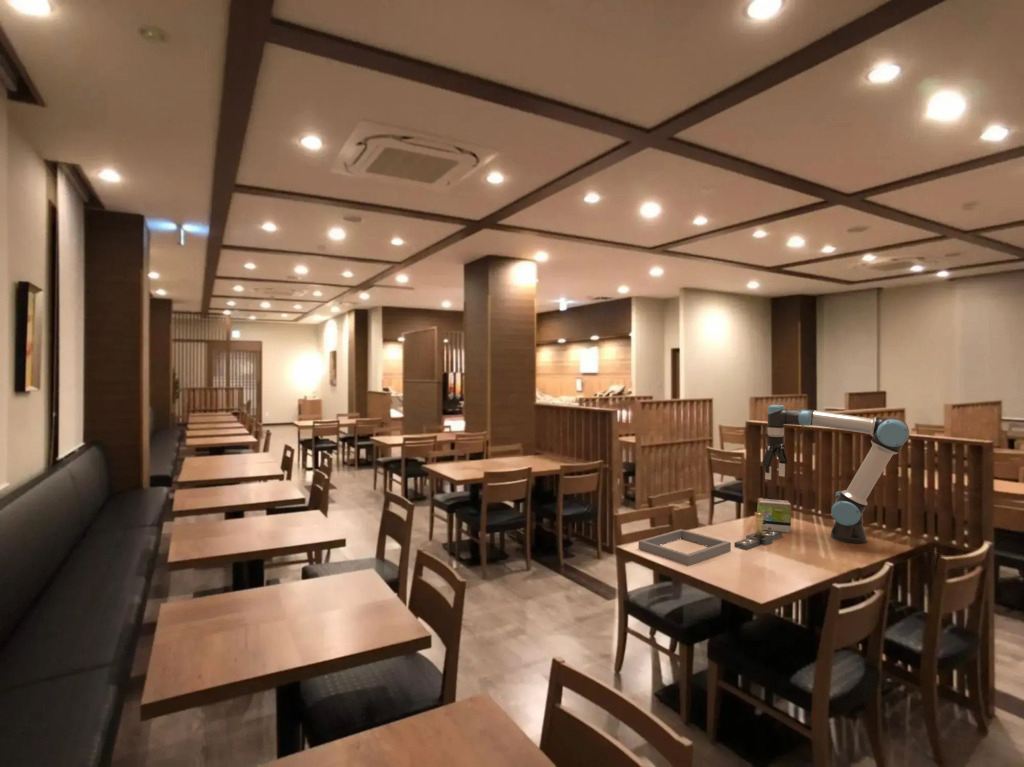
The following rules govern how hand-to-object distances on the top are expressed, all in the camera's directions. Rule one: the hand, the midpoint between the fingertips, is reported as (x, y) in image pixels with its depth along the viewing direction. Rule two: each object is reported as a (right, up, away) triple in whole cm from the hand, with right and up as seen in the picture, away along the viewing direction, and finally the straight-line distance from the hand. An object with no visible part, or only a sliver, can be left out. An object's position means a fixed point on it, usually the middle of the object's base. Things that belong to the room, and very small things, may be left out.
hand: (775, 477), depth 284 cm
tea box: (+4, -29, +10) cm, 31 cm away
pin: (-13, -29, -12) cm, 34 cm away
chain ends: (-13, -29, -12) cm, 34 cm away
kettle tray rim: (-53, -29, -25) cm, 66 cm away
